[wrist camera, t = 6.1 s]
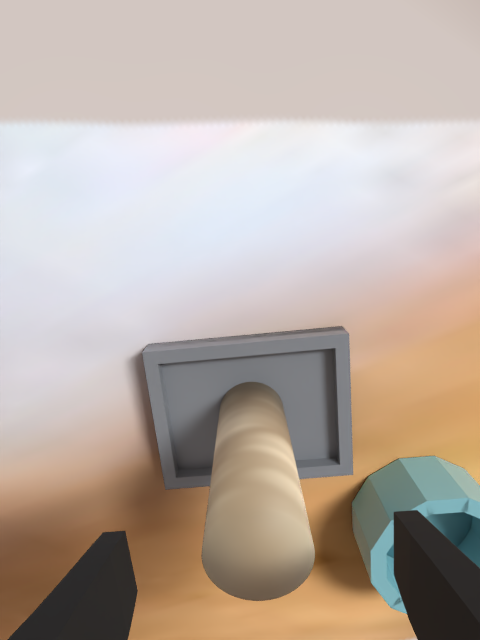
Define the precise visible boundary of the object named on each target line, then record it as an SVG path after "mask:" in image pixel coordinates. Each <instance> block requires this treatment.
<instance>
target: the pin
mask: <svg viewBox="0 0 480 640" xmlns="http://www.w3.org/2000/svg"><path fill="white" fill-rule="evenodd" d="M314 559H315V549H314V544H313V539H312V535H311V530H310V526H309V521H308V517H307V512H306V508H305V503H304V499H303V494H302V489H301V485H300V480H299V476H298V471H297V467H296V462H295V458H294V453H293V449H292V444H291V439H290V435H289V430H288V426H287V421H286V417H285V412H284V408H283V403H282V400H281V398H280V397H279V395H278V394H277V393H276V391H275V390H273V389H272V388H271V387H269V386H267V385H265V384H263V383H259V382H244V383H241V384H238V385H236V386H234V387H233V388H231V389H230V390H229V391H228V392H227V393H226V394H225V396H224V397H223V399H222V402H221V405H220V412H219V420H218V428H217V435H216V443H215V451H214V459H213V467H212V475H211V483H210V491H209V498H208V506H207V514H206V522H205V530H204V538H203V546H202V563H203V566H204V569H205V571H206V573H207V575H208V577H209V578H210V579H211V581H212V582H213V583H214V584H215V585H216V586H217V587H218V588H220V589H221V590H223V591H224V592H226V593H228V594H230V595H232V596H234V597H237V598H241V599H245V600H253V601H264V600H271V599H275V598H279V597H282V596H284V595H287V594H288V593H290V592H292V591H294V590H295V589H297V588H298V587H299V586H300V585H301V584H302V583H303V582H304V581H305V580H306V579H307V577H308V576H309V574H310V572H311V570H312V568H313V564H314Z"/></svg>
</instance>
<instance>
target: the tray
mask: <svg viewBox="0 0 480 640" xmlns="http://www.w3.org/2000/svg"><path fill="white" fill-rule="evenodd" d="M142 355H143V361H144V367H145V373H146V379H147V385H148V390H149V396H150V402H151V408H152V414H153V420H154V425H155V431H156V437H157V443H158V449H159V455H160V460H161V466H162V472H163V478H164V484H165V490H167V489H180V488H192V487H205V486H210V483H211V475H212V467H213V459H214V451H215V443H216V435H217V428H218V420H219V412H220V405H221V402H222V399H223V397H224V396H225V394H226V393H227V392H228V391H229V390H230V389H231V388H233V387H234V386H236V385H238V384H241V383H244V382H259V383H263V384H265V385H267V386H269V387H271V388H272V389H273V390H275V391H276V393H277V394H278V395H279V397H280V398H281V400H282V403H283V408H284V412H285V417H286V421H287V426H288V430H289V435H290V439H291V444H292V449H293V453H294V458H295V462H296V467H297V471H298V476H299V479H306V478H318V477H331V476H343V475H353V451H352V417H351V383H350V349H349V333H348V332H347V331H346V330H345V329H344V328H343V327H342V326H339V327H328V328H317V329H306V330H296V331H285V332H274V333H263V334H252V335H242V336H231V337H220V338H209V339H198V340H187V341H177V342H166V343H155V344H148V346H147V347H146V348H145V349H144V351H143V352H142Z"/></svg>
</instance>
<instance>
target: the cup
mask: <svg viewBox="0 0 480 640" xmlns="http://www.w3.org/2000/svg"><path fill="white" fill-rule="evenodd" d="M410 510H418V511H419V512H420V513H421V514H422V515H423V516H424V517H425V518H427V519H428V520H429V521H430V522H431V523H432V524H433V525H434V526H435V527H436V528H437V529H438V530H439V531H440V532H441V533H442V534H443V535H444V536H446V537H447V538H448V539H449V540H450V541H451V542H452V543H453V544H454V545H455V546H456V547H457V548H458V549H459V550H461V551H462V552H463V553H464V554H465V555H466V556H467V557H468V558H469V559H470V560H471V561H473V562H474V563H475V564H476V565H477V566H478V567H479V568H480V485H479V484H478V483H477V482H476V481H475V480H474V479H473V478H472V477H471V476H470V474H469V473H468V472H467V471H466V470H465V469H464V468H462V467H459V466H457V465H455V464H452V463H450V462H448V461H445V460H443V459H440V458H438V457H436V456H426V457H413V458H401V459H397V460H396V461H394V462H392V463H390V464H389V465H387V466H385V467H383V468H382V469H380V470H378V471H377V472H375V473H373V474H371V475H370V476H368V478H367V479H366V481H365V483H364V484H363V486H362V487H361V489H360V491H359V492H358V494H357V495H356V497H355V499H354V500H353V502H352V526H353V533H354V536H355V539H356V542H357V545H358V547H359V550H360V553H361V556H362V559H363V561H364V564H365V567H366V570H367V573H368V575H369V578H370V581H371V583H372V585H373V586H374V587H375V588H376V590H377V591H378V592H379V594H380V595H381V596H382V597H383V599H384V600H385V601H386V602H387V604H388V605H389V606H390V607H391V608H392V609H395V610H398V611H400V612H403V613H406V614H407V612H406V609H405V606H404V604H403V601H402V598H401V595H400V592H399V589H398V586H397V583H396V580H395V577H394V512H396V511H410Z"/></svg>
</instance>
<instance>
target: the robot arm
mask: <svg viewBox="0 0 480 640" xmlns="http://www.w3.org/2000/svg"><path fill="white" fill-rule="evenodd" d="M394 577H395V580H396V583H397V586H398V589H399V592H400V595H401V598H402V601H403V604H404V606H405V609H406V612H407V615H408V618H409V620H410V623H411V625H412V627H413V630H414V632H415V634H416V636H417V639H418V640H480V568H479V567H478V566H477V565H476V564H475V563H474V562H473V561H471V560H470V559H469V558H468V557H467V556H466V555H465V554H464V553H463V552H462V551H461V550H459V549H458V548H457V547H456V546H455V545H454V544H453V543H452V542H451V541H450V540H449V539H448V538H447V537H446V536H444V535H443V534H442V533H441V532H440V531H439V530H438V529H437V528H436V527H435V526H434V525H433V524H432V523H431V522H430V521H429V520H428V519H427V518H425V517H424V516H423V515H422V514H421V513H420V512H419V511H418V510H410V511H396V512H394ZM136 597H137V586H136V581H135V576H134V571H133V567H132V562H131V557H130V552H129V547H128V542H127V538H126V533H125V531H117V532H103V533H102V534H101V536H100V537H99V538H98V539H97V540H96V541H95V542H94V543H93V545H92V546H91V547H90V548H89V549H88V550H87V552H86V553H85V554H84V555H83V556H82V557H81V559H80V560H79V561H78V562H77V563H76V564H75V566H74V567H73V568H72V569H71V570H70V571H69V573H68V574H67V575H66V576H65V577H64V578H63V579H62V581H61V582H60V583H59V584H58V585H57V586H56V587H55V589H54V590H53V591H52V592H51V593H50V594H49V595H48V596H47V598H46V599H45V600H44V601H43V602H42V603H41V604H40V605H39V607H38V608H37V609H36V610H35V611H34V612H33V613H32V614H31V615H30V616H29V618H28V619H27V620H26V621H25V622H24V623H23V624H22V625H21V626H20V627H19V628H18V629H17V630H16V631H15V632H14V633H13V634H12V635H11V637H10V638H9V639H8V640H128V636H129V631H130V627H131V622H132V617H133V612H134V607H135V602H136Z"/></svg>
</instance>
